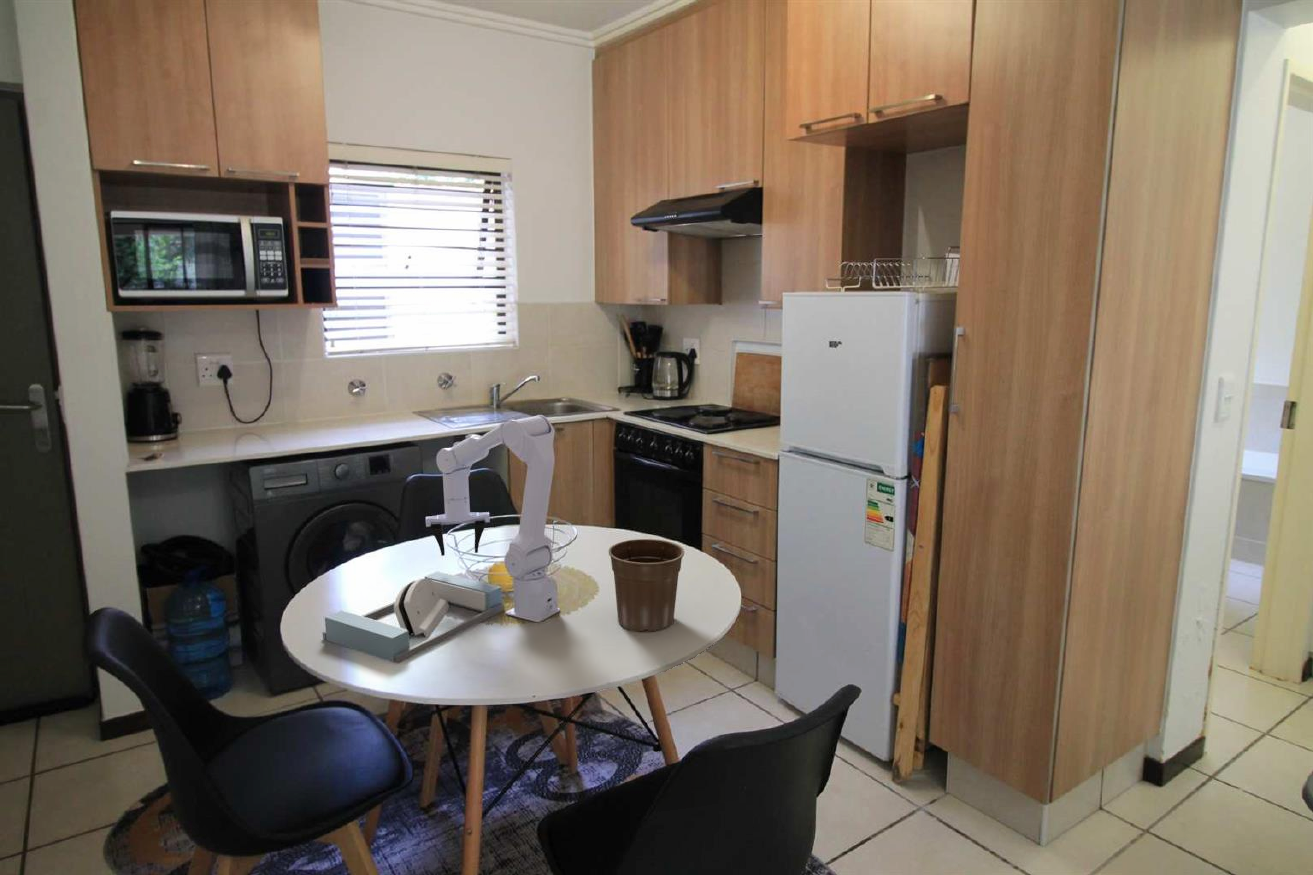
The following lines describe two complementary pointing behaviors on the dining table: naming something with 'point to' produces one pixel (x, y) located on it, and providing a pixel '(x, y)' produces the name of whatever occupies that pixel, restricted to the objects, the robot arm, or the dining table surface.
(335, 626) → the vise
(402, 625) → the hinge
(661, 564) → the plant pot
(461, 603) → the block
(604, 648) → the dining table surface
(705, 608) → the dining table surface
